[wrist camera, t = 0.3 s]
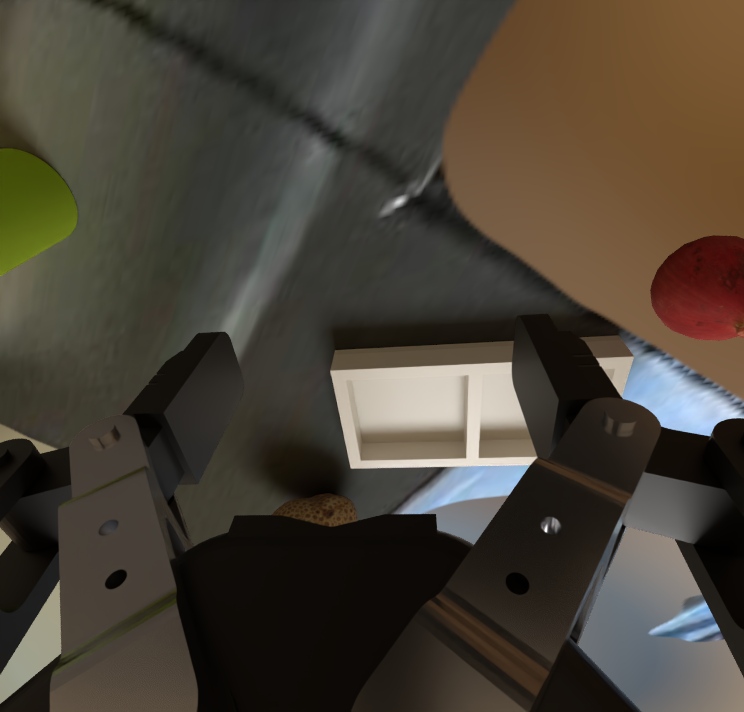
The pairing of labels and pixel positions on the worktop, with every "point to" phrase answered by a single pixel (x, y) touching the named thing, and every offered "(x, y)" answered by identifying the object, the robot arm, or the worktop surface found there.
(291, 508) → the natural sponge
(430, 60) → the worktop surface
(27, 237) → the soap dispenser
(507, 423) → the well holder
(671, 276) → the onion
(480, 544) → the robot arm
